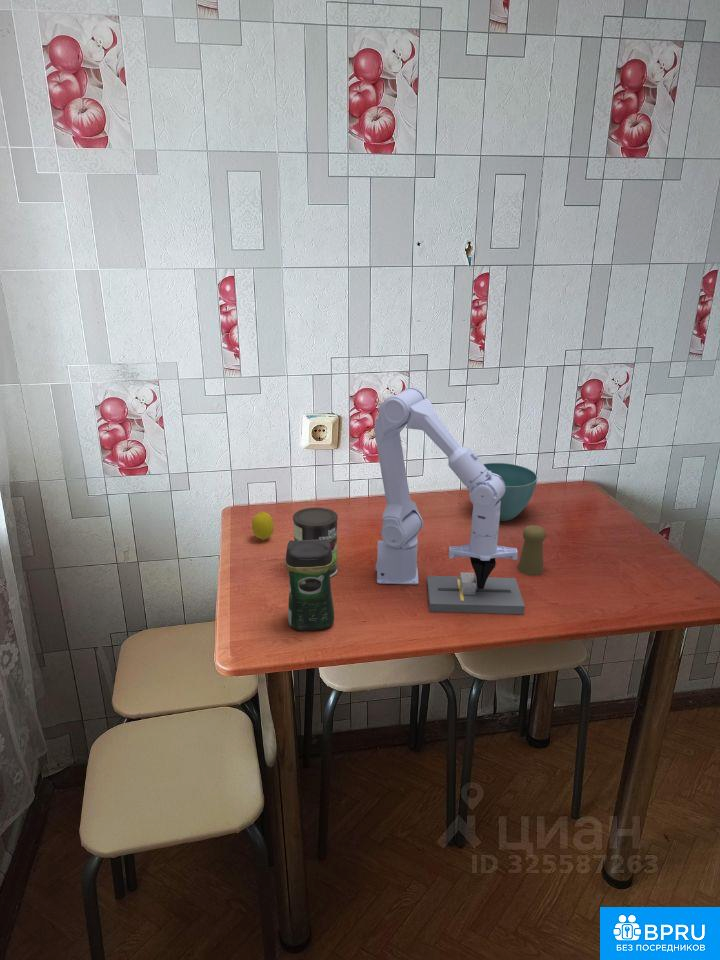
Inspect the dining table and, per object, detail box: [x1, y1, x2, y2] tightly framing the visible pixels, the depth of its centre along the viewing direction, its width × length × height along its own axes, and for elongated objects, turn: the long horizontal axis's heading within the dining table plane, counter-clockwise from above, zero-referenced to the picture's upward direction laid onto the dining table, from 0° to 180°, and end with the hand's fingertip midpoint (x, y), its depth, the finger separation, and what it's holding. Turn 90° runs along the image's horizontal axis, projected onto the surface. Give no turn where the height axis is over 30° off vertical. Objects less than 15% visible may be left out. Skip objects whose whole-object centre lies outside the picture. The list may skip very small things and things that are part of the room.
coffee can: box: [292, 507, 339, 579], centre depth 168 cm, size 10×10×14 cm
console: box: [426, 575, 526, 615], centre depth 159 cm, size 20×12×2 cm, turn 88°
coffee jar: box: [284, 539, 335, 631], centre depth 147 cm, size 10×8×19 cm
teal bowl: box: [482, 462, 538, 522], centre depth 198 cm, size 18×18×12 cm
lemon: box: [251, 510, 275, 541], centre depth 184 cm, size 6×6×8 cm
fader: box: [459, 572, 476, 595], centre depth 158 cm, size 3×4×3 cm
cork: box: [517, 524, 547, 576], centre depth 170 cm, size 6×6×11 cm
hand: (480, 586), depth 158 cm, fingers closed
